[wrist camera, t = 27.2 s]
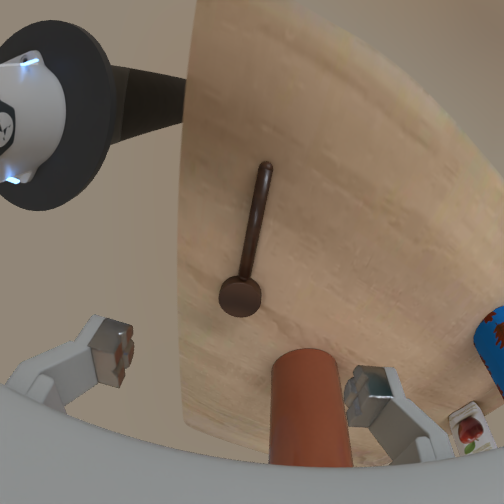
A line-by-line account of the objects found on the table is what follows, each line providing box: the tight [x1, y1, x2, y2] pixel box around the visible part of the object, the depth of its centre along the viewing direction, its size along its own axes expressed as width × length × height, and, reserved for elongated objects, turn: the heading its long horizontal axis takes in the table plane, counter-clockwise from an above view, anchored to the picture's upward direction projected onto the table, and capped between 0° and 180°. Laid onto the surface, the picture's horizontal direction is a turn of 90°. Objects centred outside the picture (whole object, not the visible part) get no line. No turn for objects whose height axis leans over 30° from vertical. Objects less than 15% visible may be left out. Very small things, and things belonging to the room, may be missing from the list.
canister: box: [268, 349, 354, 467], centre depth 40 cm, size 11×11×24 cm
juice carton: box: [449, 401, 497, 456], centre depth 48 cm, size 8×9×19 cm
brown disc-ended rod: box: [219, 162, 273, 317], centre depth 40 cm, size 21×6×2 cm, turn 170°
